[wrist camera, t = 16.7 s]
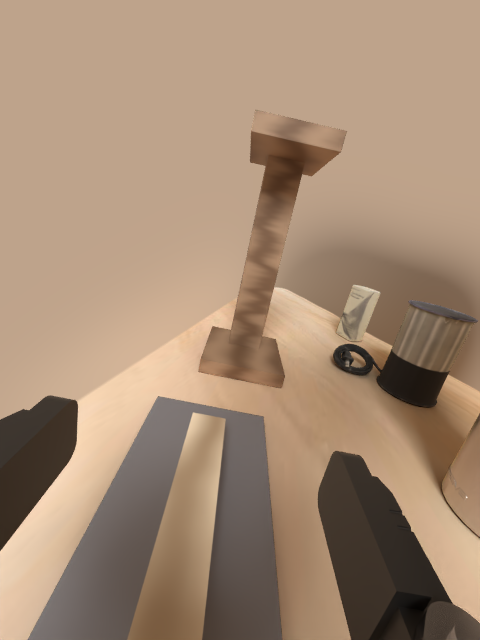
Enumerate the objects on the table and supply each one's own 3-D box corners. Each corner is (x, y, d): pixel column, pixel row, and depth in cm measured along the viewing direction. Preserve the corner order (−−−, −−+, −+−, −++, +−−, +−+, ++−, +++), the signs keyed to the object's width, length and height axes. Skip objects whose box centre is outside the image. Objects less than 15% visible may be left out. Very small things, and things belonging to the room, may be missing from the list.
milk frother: (449, 413, 44) (495, 324, 40) (353, 396, 43) (388, 302, 38) (399, 369, 58) (429, 299, 53) (325, 355, 56) (349, 282, 52)
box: (334, 333, 72) (351, 284, 68) (347, 333, 74) (363, 285, 70) (350, 342, 68) (369, 290, 64) (363, 342, 70) (381, 292, 66)
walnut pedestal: (272, 347, 54) (321, 163, 45) (281, 390, 40) (355, 133, 30) (211, 335, 54) (246, 146, 44) (197, 373, 40) (245, 107, 30)
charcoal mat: (261, 422, 32) (263, 416, 32) (307, 1053, 8) (316, 1048, 7) (157, 402, 32) (158, 396, 32) (-157, 1003, 7) (-164, 996, 7)
